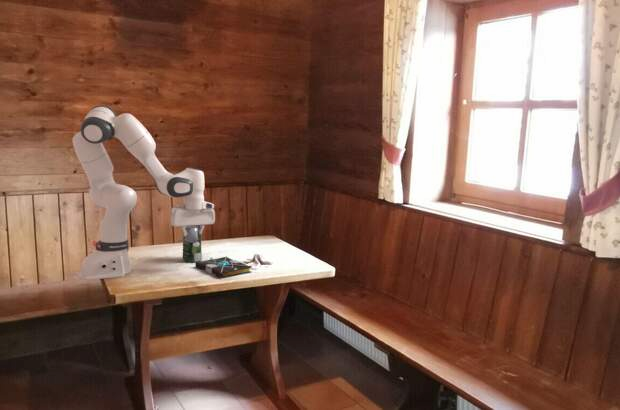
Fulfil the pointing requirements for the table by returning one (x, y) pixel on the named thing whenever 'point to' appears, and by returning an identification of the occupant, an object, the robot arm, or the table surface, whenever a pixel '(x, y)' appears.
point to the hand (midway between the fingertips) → (192, 235)
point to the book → (223, 267)
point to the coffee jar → (192, 249)
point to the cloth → (257, 261)
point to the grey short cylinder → (191, 234)
